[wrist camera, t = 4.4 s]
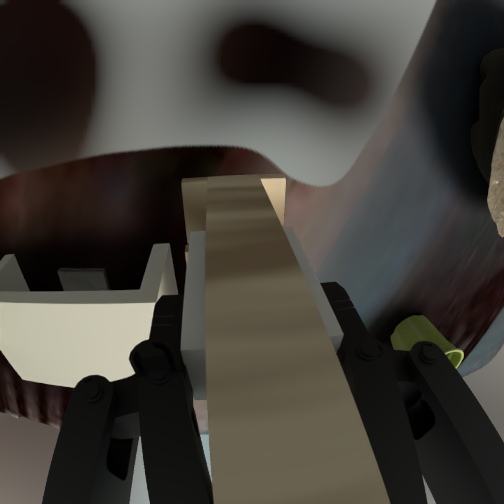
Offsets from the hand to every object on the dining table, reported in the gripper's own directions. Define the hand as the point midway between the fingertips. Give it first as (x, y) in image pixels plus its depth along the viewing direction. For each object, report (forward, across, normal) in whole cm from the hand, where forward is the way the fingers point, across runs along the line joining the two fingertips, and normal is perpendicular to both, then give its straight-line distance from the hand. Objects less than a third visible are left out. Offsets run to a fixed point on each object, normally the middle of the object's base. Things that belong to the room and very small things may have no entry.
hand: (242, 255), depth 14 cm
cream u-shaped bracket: (+12, -16, -12) cm, 23 cm away
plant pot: (+12, +24, -22) cm, 35 cm away
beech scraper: (+6, 0, -6) cm, 8 cm away
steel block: (+13, -16, -11) cm, 23 cm away
